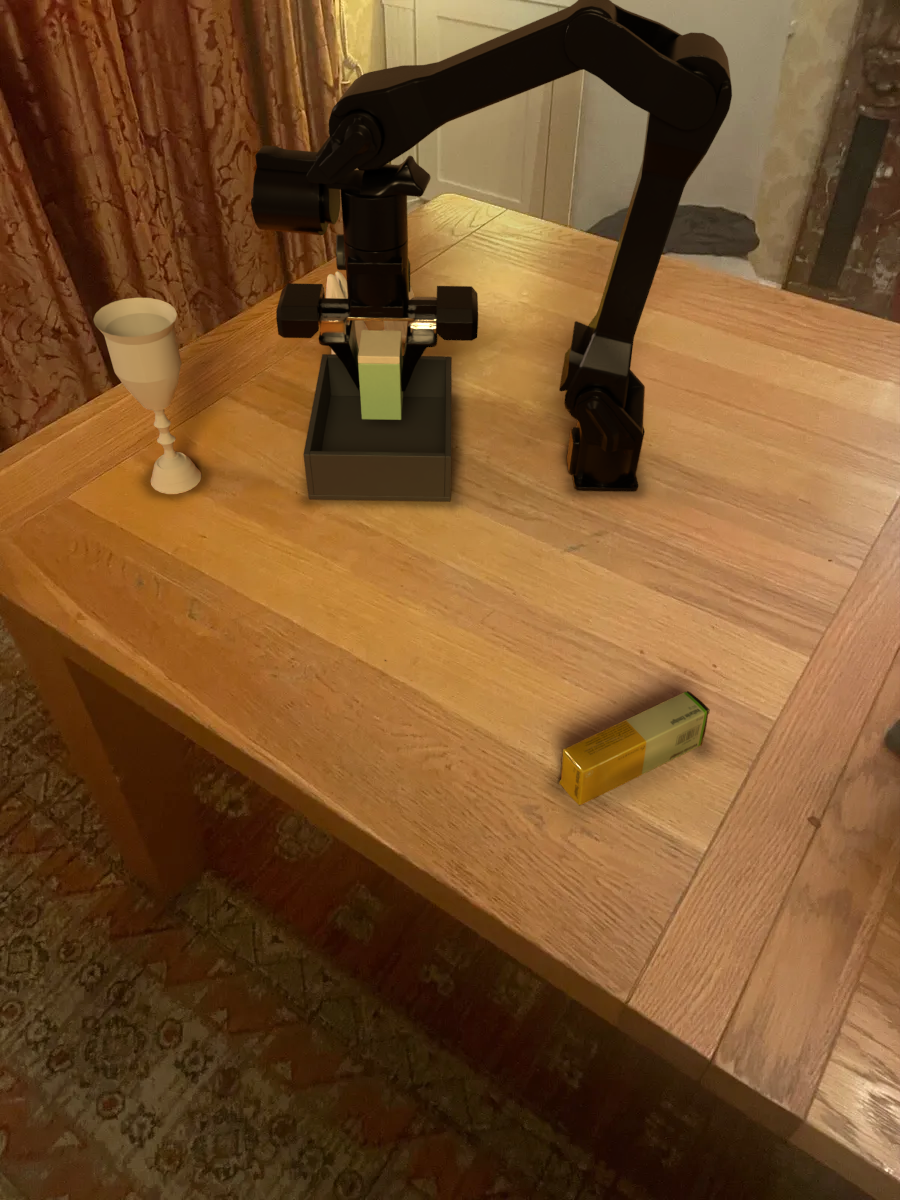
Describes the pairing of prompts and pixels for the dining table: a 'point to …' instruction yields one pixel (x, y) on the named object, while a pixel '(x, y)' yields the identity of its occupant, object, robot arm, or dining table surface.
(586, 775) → the medication box
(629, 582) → the dining table surface
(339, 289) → the shaker set
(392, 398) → the juice carton
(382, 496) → the bin
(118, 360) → the chalice
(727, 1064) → the dining table surface
